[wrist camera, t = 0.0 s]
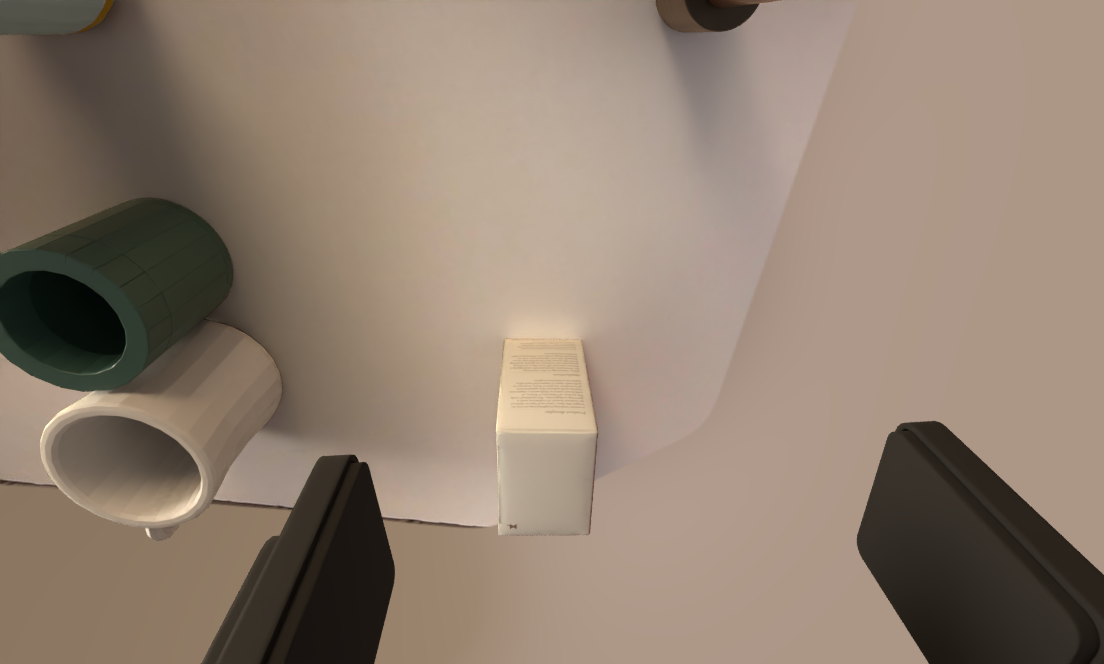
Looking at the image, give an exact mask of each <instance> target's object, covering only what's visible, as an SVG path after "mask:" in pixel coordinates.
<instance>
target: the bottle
mask: <svg viewBox="0 0 1104 664" xmlns="http://www.w3.org/2000/svg"><path fill="white" fill-rule="evenodd" d="M112 4H113V0H0V35H60V34H71V33H80V32H84V31H87V30H89V29H90V28H92V27H94V26H96V25H97V24H99V23H100V22H101V21H102V20H103V19H104V17H105V16H106V14H107V13H108V11H109V10H110V8H111V6H112Z"/></svg>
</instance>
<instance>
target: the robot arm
mask: <svg viewBox="0 0 1104 664" xmlns="http://www.w3.org/2000/svg"><path fill="white" fill-rule="evenodd" d="M857 546H858V550H859V553H860V555H861V557H862V559H863V560H864V562H865V563H866V565H867V567H868V568H869V570H870V571H871V573H872V575H873V576H874V578H875V579H876V581H877V582H878V584H879V586H880V587H881V589H882V590H883V592H884V593H885V595H886V596H887V598H888V600H889V601H890V603H891V604H892V606H893V608H894V609H895V611H896V612H897V614H898V615H899V617H900V619H901V620H902V622H903V623H904V625H905V626H906V628H907V630H908V631H909V633H910V634H911V636H912V637H913V639H914V641H915V642H916V644H917V645H918V647H919V648H920V650H921V652H922V653H923V655H924V656H925V658H926V659H927V661H928V663H929V664H1104V575H1103V574H1102V573H1101V572H1100V571H1099V570H1098V569H1097V568H1096V567H1094V565H1093V564H1091V563H1090V562H1089V561H1088V560H1087V559H1086V558H1085V557H1084V556H1083V555H1082V554H1081V553H1080V552H1079V551H1077V549H1075V548H1074V547H1073V546H1072V545H1071V544H1070V543H1069V542H1068V541H1067V540H1066V539H1065V538H1064V537H1063V536H1062V535H1060V533H1058V532H1057V531H1056V530H1055V529H1054V528H1053V527H1052V526H1051V525H1050V524H1049V523H1048V522H1047V521H1046V520H1045V519H1044V518H1043V517H1041V516H1040V515H1039V514H1038V513H1037V512H1036V511H1035V510H1034V509H1033V508H1032V507H1031V506H1030V505H1029V504H1028V503H1027V502H1026V501H1024V500H1023V499H1022V498H1021V497H1020V496H1019V495H1018V494H1017V493H1016V492H1015V491H1014V490H1013V489H1012V488H1011V487H1010V486H1009V485H1007V484H1006V483H1005V482H1004V481H1003V480H1002V479H1001V478H1000V477H999V476H998V475H997V474H996V473H995V472H994V471H993V470H991V469H990V468H989V467H988V466H987V465H986V464H985V463H984V462H983V461H982V460H981V459H980V458H979V457H978V456H977V455H976V454H974V453H973V452H972V451H971V450H970V449H969V448H968V447H967V446H966V445H965V444H964V443H963V442H962V441H961V440H960V439H959V438H957V437H956V436H955V435H954V434H953V433H952V432H951V431H950V430H949V429H948V428H947V427H946V426H944V425H943V424H942V423H940V422H936V421H927V422H910V423H902V424H900V425H899V426H898V427H897V429H896V431H895V432H891V433H890V434H889V436H888V438H887V441H886V444H885V447H884V451H883V454H882V457H881V460H880V463H879V467H878V470H877V473H876V476H875V480H874V483H873V486H872V489H871V493H870V496H869V499H868V502H867V506H866V509H865V512H864V516H863V519H862V522H861V526H860V528H859V532H858V535H857ZM394 577H395V568H394V561H393V558H392V554H391V550H390V546H389V542H388V539H387V535H386V531H385V527H384V523H383V519H382V516H381V512H380V508H379V504H378V500H377V497H376V493H375V489H374V485H373V481H372V477H371V474H370V470H369V467H368V464H367V463H366V462H359V461H358V459H357V457H356V456H355V455H334V456H322V457H320V458H319V459H318V460H317V462H316V464H315V466H314V468H313V470H312V472H311V474H310V476H309V478H308V480H307V482H306V484H305V486H304V488H303V490H302V492H301V494H300V496H299V498H298V500H297V502H296V504H295V506H294V508H293V510H292V512H291V514H290V516H289V518H288V520H287V522H286V524H285V526H284V528H283V530H282V532H281V534H280V536H273V537H271V538H270V539H269V540H267V541H266V543H265V544H264V546H263V547H262V549H261V550H260V552H259V554H258V556H257V558H256V560H255V562H254V564H253V566H252V568H251V569H250V572H249V573H248V575H247V577H246V579H245V581H244V583H243V585H242V587H241V589H240V591H239V592H238V594H237V596H236V598H235V600H234V602H233V604H232V606H231V608H230V610H229V612H228V614H227V615H226V617H225V619H224V621H223V623H222V625H221V627H220V629H219V631H218V633H217V635H216V636H215V638H214V640H213V642H212V644H211V646H210V648H209V650H208V652H207V654H206V656H205V658H204V659H203V661H202V663H201V664H374V662H375V658H376V654H377V650H378V646H379V642H380V638H381V633H382V630H383V626H384V621H385V618H386V613H387V609H388V605H389V601H390V597H391V593H392V589H393V585H394Z"/></svg>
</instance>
